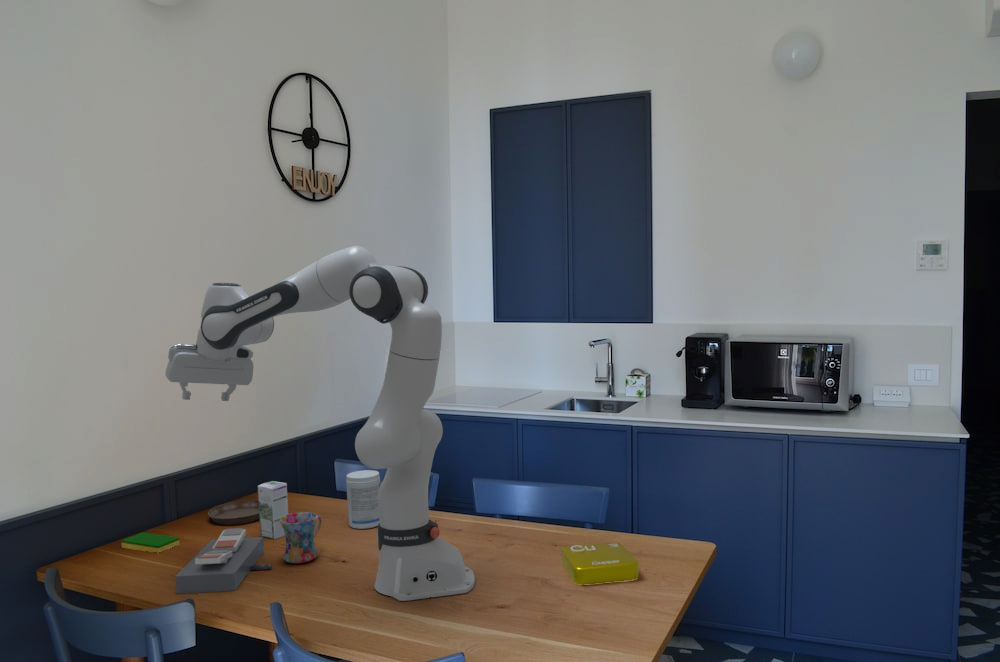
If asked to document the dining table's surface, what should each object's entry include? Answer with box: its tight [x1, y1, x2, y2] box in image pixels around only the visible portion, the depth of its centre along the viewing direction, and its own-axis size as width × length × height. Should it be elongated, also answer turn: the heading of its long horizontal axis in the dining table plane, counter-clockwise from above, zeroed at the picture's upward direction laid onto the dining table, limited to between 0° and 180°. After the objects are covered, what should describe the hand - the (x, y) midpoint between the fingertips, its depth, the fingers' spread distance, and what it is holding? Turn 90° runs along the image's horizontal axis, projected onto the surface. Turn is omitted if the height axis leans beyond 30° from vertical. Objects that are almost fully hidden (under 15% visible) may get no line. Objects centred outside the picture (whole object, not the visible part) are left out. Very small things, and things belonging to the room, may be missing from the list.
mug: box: [279, 511, 323, 564], centre depth 190 cm, size 12×9×11 cm
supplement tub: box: [345, 469, 381, 530], centre depth 215 cm, size 10×10×15 cm
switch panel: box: [175, 536, 273, 595], centre depth 182 cm, size 18×25×4 cm
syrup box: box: [257, 480, 289, 540], centre depth 208 cm, size 6×6×14 cm
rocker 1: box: [212, 527, 247, 552], centre depth 188 cm, size 6×9×2 cm, turn 3°
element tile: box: [561, 542, 640, 585], centre depth 175 cm, size 15×15×5 cm
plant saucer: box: [207, 499, 260, 526], centre depth 226 cm, size 18×18×3 cm
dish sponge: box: [121, 532, 180, 554], centre depth 203 cm, size 7×14×2 cm, turn 66°
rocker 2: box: [195, 550, 232, 565], centre depth 176 cm, size 6×9×2 cm, turn 3°
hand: (205, 399), depth 187 cm, fingers open, 8 cm apart
